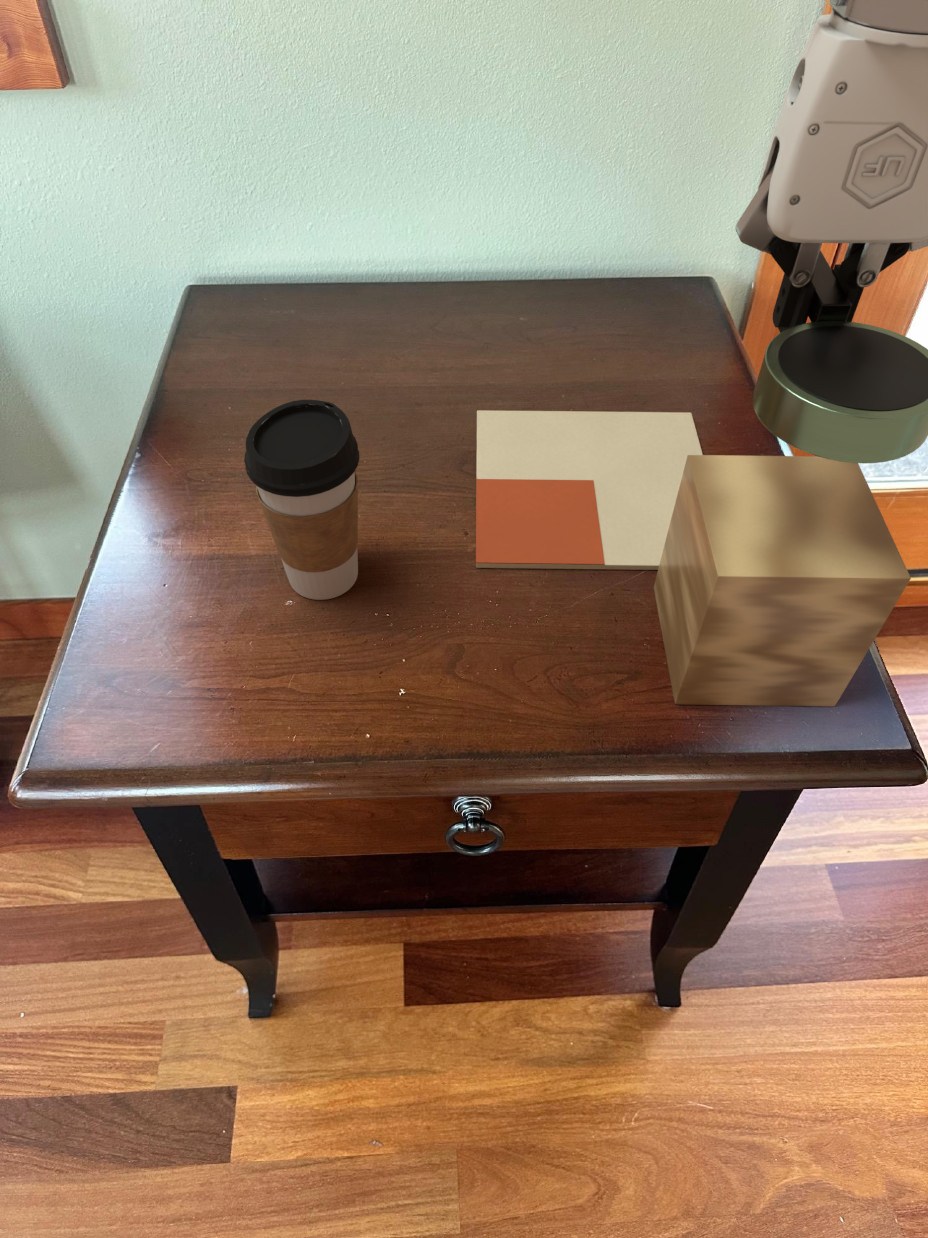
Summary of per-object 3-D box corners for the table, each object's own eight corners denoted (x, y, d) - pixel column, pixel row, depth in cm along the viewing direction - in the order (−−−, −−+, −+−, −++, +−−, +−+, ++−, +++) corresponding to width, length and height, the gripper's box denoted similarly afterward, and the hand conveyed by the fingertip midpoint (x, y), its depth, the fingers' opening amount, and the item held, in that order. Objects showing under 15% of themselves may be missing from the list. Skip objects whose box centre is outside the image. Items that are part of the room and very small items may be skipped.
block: (795, 588, 70) (855, 456, 60) (835, 706, 62) (911, 578, 52) (653, 587, 70) (687, 454, 60) (674, 704, 63) (718, 576, 52)
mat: (690, 417, 86) (691, 411, 85) (731, 571, 72) (733, 565, 71) (476, 414, 86) (476, 409, 86) (475, 568, 72) (475, 562, 71)
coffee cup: (392, 563, 72) (379, 419, 61) (331, 626, 67) (305, 483, 56) (316, 527, 75) (290, 383, 64) (252, 585, 70) (212, 441, 59)
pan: (714, 300, 58) (727, 243, 55) (858, 300, 58) (880, 242, 55) (773, 463, 46) (794, 402, 43) (955, 464, 46) (989, 402, 43)
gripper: (773, 13, 38) (693, 367, 52) (1121, 10, 38) (948, 367, 52) (739, -27, 43) (675, 306, 57) (1048, -30, 43) (908, 306, 57)
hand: (806, 333), depth 54 cm, fingers closed on pan
